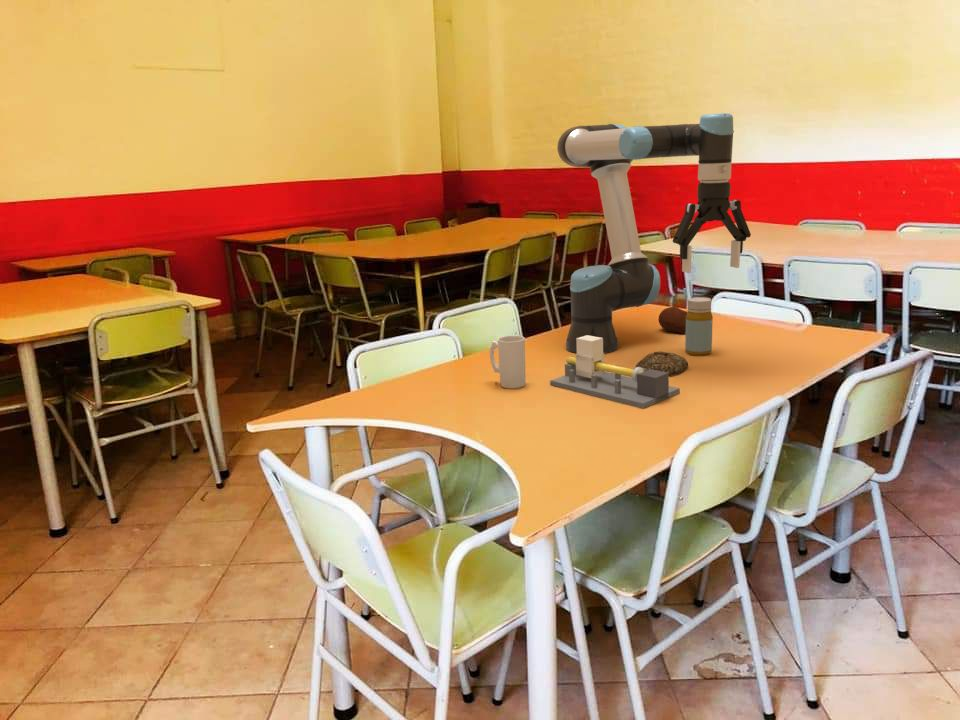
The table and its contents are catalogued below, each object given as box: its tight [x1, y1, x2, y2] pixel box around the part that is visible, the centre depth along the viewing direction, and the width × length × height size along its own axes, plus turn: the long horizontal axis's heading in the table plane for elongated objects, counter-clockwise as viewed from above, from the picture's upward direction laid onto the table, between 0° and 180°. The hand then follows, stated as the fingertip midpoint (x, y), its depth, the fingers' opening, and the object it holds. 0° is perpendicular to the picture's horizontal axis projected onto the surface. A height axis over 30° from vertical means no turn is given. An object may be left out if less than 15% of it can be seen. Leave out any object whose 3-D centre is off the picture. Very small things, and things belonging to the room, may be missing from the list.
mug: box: [489, 335, 527, 390], centre depth 186 cm, size 10×7×12 cm, turn 54°
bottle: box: [684, 297, 714, 357], centre depth 204 cm, size 7×7×15 cm
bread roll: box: [634, 351, 689, 377], centre depth 193 cm, size 13×12×5 cm
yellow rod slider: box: [549, 355, 681, 410], centre depth 179 cm, size 28×14×7 cm, turn 42°
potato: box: [658, 306, 688, 334], centre depth 230 cm, size 8×12×8 cm, turn 50°
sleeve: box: [575, 335, 605, 378], centre depth 183 cm, size 5×5×9 cm
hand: (710, 269), depth 184 cm, fingers open, 13 cm apart
